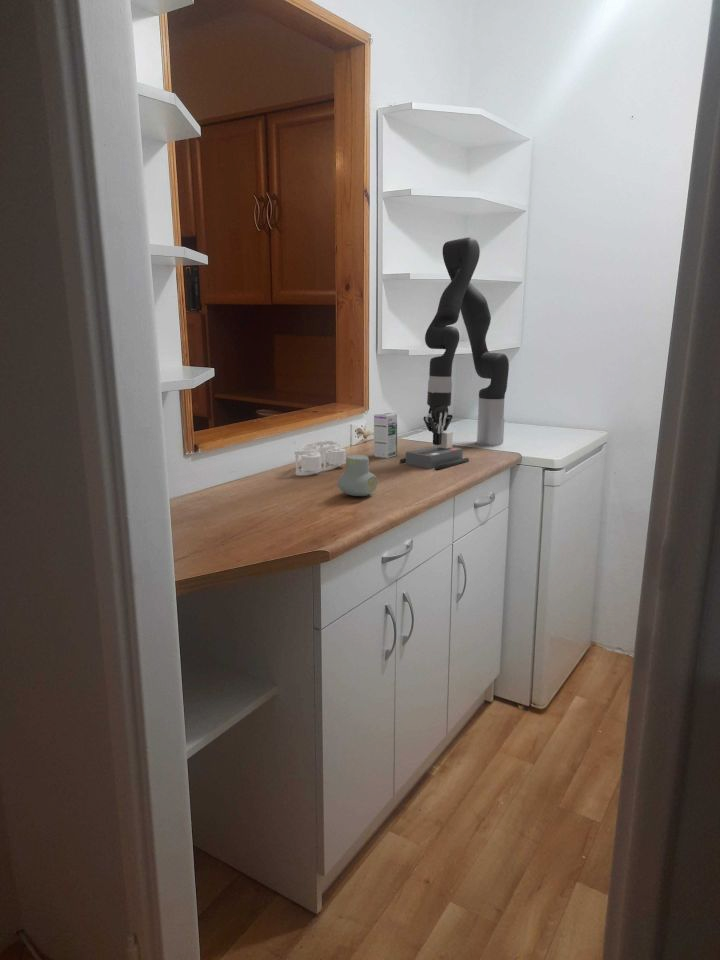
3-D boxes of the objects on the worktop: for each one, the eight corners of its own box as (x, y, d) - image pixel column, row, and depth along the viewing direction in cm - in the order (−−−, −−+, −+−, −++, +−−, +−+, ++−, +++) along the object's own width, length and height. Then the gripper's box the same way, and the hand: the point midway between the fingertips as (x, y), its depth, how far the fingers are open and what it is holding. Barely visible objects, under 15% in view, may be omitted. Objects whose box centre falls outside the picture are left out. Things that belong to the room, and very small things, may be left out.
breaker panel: (437, 456, 228) (438, 444, 227) (462, 460, 222) (462, 448, 221) (405, 464, 216) (405, 451, 215) (430, 469, 210) (430, 456, 209)
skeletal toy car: (308, 477, 199) (308, 453, 197) (282, 472, 206) (282, 448, 204) (353, 466, 214) (353, 443, 212) (327, 461, 221) (327, 439, 219)
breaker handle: (442, 445, 224) (442, 430, 223) (452, 447, 221) (452, 432, 220) (436, 447, 222) (437, 431, 221) (446, 448, 219) (447, 433, 218)
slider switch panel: (431, 455, 230) (431, 451, 230) (469, 461, 220) (469, 457, 220) (398, 463, 218) (398, 458, 218) (437, 470, 208) (437, 466, 207)
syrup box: (387, 458, 225) (388, 415, 221) (373, 456, 228) (373, 413, 225) (397, 456, 229) (397, 413, 226) (383, 453, 233) (383, 411, 229)
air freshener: (353, 487, 187) (353, 452, 185) (380, 491, 184) (380, 454, 181) (334, 496, 178) (333, 459, 176) (362, 500, 174) (362, 462, 172)
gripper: (442, 389, 222) (439, 441, 226) (417, 390, 213) (414, 445, 216) (461, 390, 217) (458, 444, 221) (436, 392, 208) (433, 448, 211)
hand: (436, 444), depth 218 cm, fingers closed
